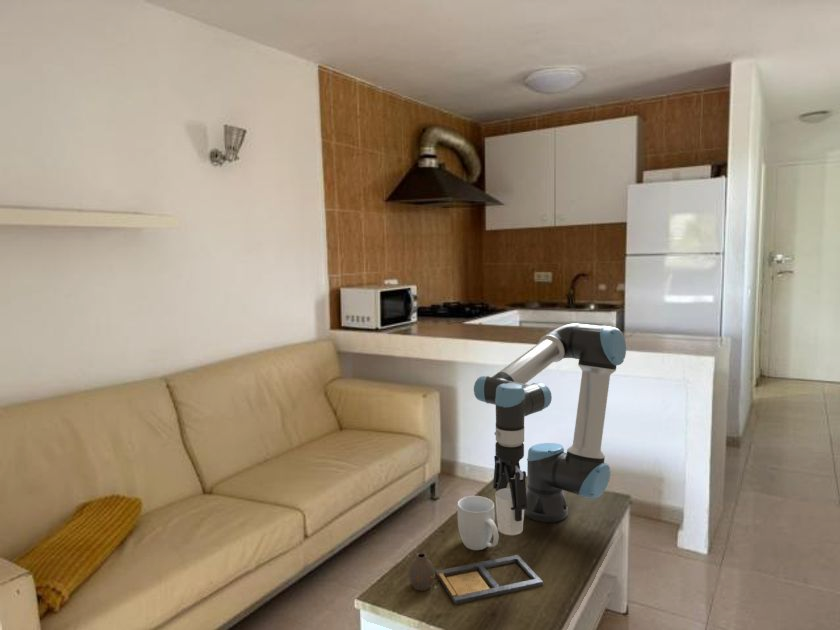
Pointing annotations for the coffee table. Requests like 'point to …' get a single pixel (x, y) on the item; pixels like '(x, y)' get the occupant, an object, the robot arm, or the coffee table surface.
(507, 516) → the white cup
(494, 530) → the mug
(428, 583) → the vase
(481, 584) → the grey double frame
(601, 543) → the coffee table surface
